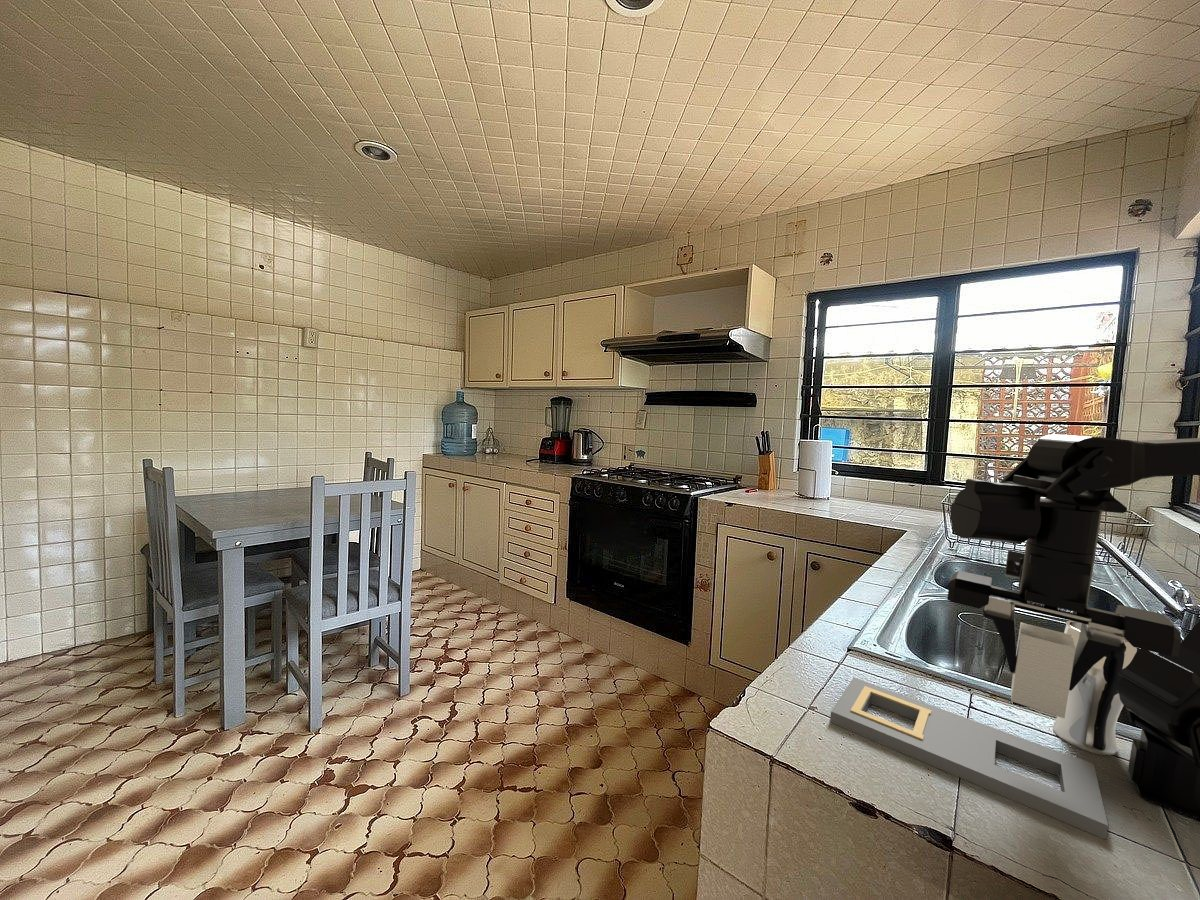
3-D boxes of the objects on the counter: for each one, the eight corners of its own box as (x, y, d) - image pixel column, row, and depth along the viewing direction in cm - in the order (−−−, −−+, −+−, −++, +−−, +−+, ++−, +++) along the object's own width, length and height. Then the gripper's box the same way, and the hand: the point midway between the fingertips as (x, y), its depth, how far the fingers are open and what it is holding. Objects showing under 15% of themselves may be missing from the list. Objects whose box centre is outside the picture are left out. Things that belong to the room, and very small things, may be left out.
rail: (1091, 775, 59) (1093, 762, 59) (1105, 839, 50) (1108, 823, 50) (852, 686, 75) (853, 675, 75) (829, 722, 66) (831, 709, 66)
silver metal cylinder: (1036, 728, 68) (1052, 621, 66) (1067, 719, 70) (1082, 617, 69) (1102, 763, 61) (1121, 646, 60) (1133, 752, 64) (1152, 640, 62)
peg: (1061, 701, 58) (1071, 635, 57) (1064, 718, 54) (1075, 648, 53) (1011, 685, 60) (1020, 622, 60) (1011, 701, 57) (1021, 633, 56)
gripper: (1166, 553, 56) (1144, 685, 57) (963, 520, 68) (948, 631, 69) (1194, 575, 47) (1167, 730, 49) (955, 533, 59) (939, 659, 61)
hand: (1039, 680), depth 57 cm, fingers closed on peg, 4 cm apart
